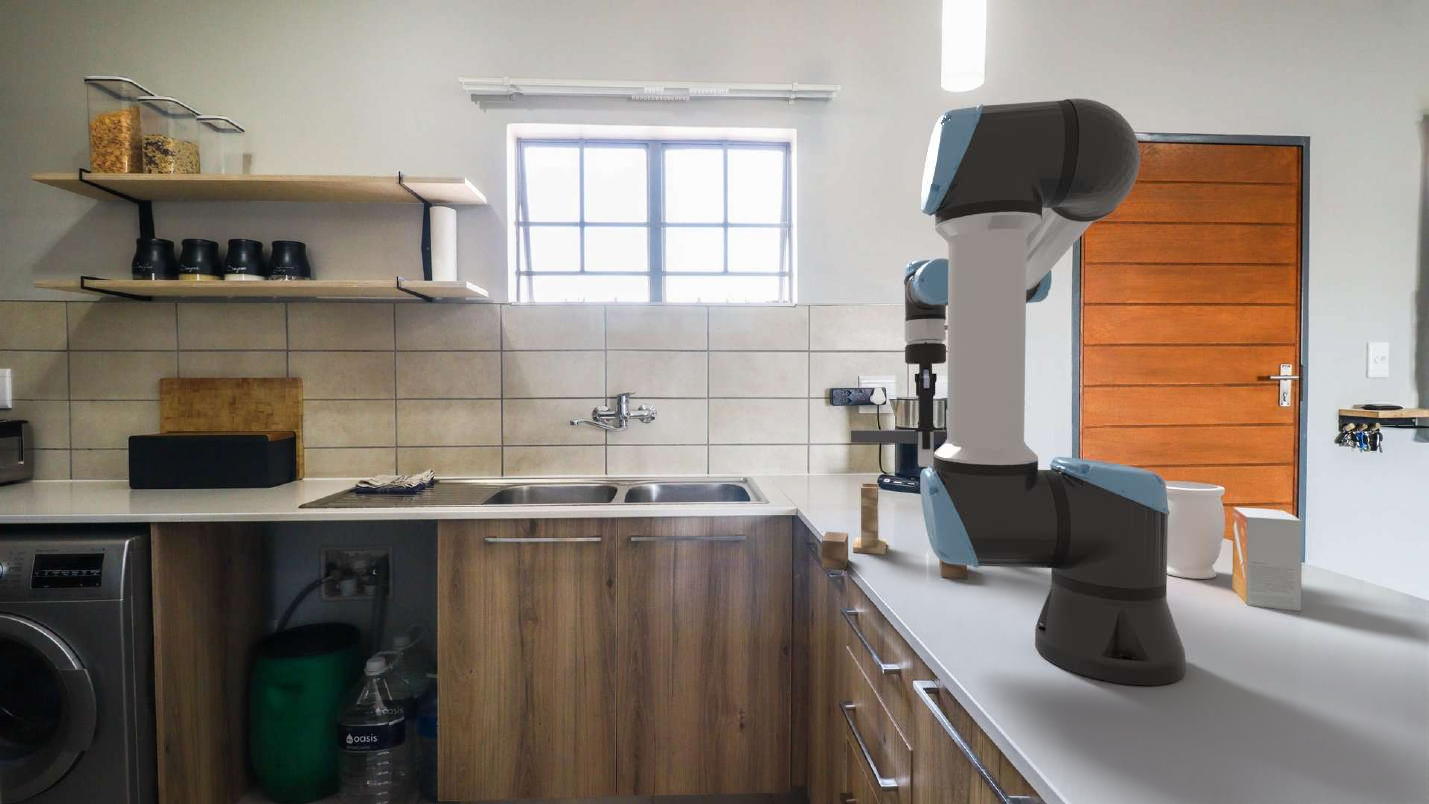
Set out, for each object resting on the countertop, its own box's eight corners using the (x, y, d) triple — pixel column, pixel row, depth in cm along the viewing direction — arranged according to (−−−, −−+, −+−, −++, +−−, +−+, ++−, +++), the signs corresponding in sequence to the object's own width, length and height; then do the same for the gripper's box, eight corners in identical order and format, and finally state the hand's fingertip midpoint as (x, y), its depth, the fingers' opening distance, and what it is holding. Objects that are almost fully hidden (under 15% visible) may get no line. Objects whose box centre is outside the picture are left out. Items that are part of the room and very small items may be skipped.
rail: (1003, 443, 121) (1003, 430, 121) (1005, 444, 118) (1005, 431, 118) (852, 441, 129) (852, 429, 129) (850, 442, 126) (850, 430, 126)
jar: (1151, 576, 107) (1151, 487, 106) (1143, 561, 116) (1144, 478, 116) (1231, 585, 102) (1232, 491, 102) (1216, 568, 111) (1217, 482, 111)
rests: (963, 567, 113) (963, 539, 113) (966, 578, 107) (966, 549, 107) (826, 558, 120) (826, 531, 120) (821, 568, 114) (821, 540, 113)
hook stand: (998, 550, 124) (998, 486, 124) (1004, 561, 117) (1004, 493, 116) (856, 542, 132) (855, 481, 132) (853, 552, 124) (852, 488, 124)
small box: (1231, 589, 100) (1232, 506, 100) (1283, 595, 97) (1285, 509, 97) (1245, 605, 93) (1246, 516, 93) (1302, 612, 90) (1303, 520, 90)
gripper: (948, 339, 114) (949, 471, 115) (943, 345, 130) (943, 461, 130) (904, 341, 116) (905, 469, 117) (904, 346, 132) (905, 460, 132)
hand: (925, 465), depth 124 cm, fingers closed on rail, 3 cm apart
